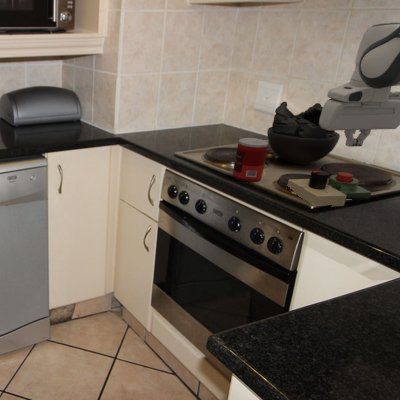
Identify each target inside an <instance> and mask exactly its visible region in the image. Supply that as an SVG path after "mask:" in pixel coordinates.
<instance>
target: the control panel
mask: <svg viewBox="0 0 400 400" xmlns="http://www.w3.org/2000/svg"><path fill="white" fill-rule="evenodd" d="M309 179H310V178H296V179H295V178H294V179H288V182H287V185H286V187H287V186H288V187H290V189H292V190H293V191H294V193H296V194H297V195H298V196H299V197H301V198H303V199H305V200H307V201H309V202H311V203H313V204H315V205H332V206H331V207H344V206H345V203H346V201H345V200H346V196H347V195H345V194H344V193H342V192H340V191H338V190H336V189H334V188H332V186H329V185H327V184H326V188H325V189H322V190H320V189H314V188H311V187H309V186H308V183H309ZM299 197H298V198H299ZM301 198H300V199H301Z"/></svg>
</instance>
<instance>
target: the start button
mask: <svg viewBox="0 0 400 400" xmlns="http://www.w3.org/2000/svg"><path fill="white" fill-rule="evenodd" d="M336 175H337V178H336V179H338V180H341V181H346V182H352V179H353V178H354V174H353V173H350V172H346V171H339V172H337V174H336Z"/></svg>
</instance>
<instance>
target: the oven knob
mask: <svg viewBox="0 0 400 400" xmlns="http://www.w3.org/2000/svg"><path fill="white" fill-rule="evenodd" d="M329 177H330V173H329V171H325V170H321V169H312V170H311V171H310V176H309V178H308V179H309V183H308V186H309V187H311V188H314V189H320V190H322V189H325V188H326V184H327V180H328V178H329Z"/></svg>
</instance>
